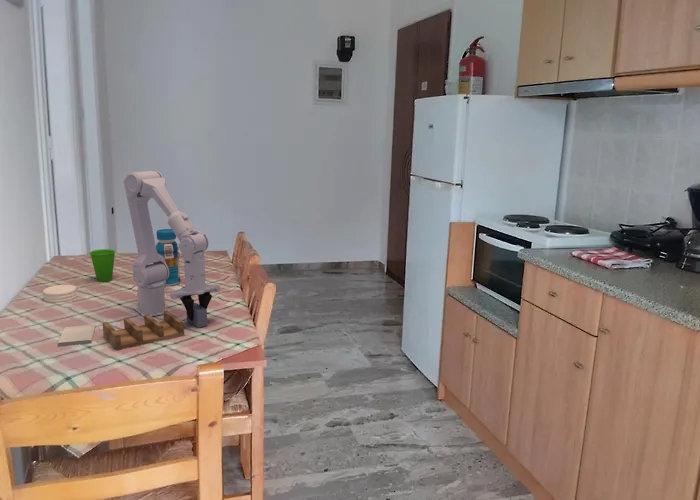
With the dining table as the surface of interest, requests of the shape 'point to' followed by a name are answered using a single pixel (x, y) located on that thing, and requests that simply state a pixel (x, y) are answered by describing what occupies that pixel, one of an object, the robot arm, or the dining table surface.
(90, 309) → the dining table surface
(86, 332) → the hard drive
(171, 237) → the beverage bottle
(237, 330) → the dining table surface
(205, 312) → the tall slate-grey prism
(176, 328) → the rack
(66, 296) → the coaster
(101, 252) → the cup
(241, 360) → the dining table surface
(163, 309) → the robot arm
